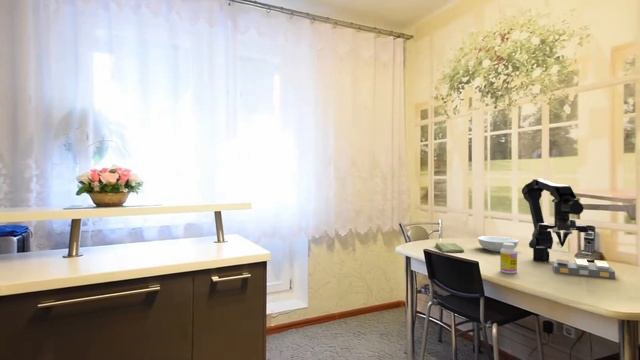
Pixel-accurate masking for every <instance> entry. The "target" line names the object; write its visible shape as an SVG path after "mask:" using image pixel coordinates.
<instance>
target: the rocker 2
mask: <svg viewBox="0 0 640 360" xmlns="http://www.w3.org/2000/svg"><path fill="white" fill-rule="evenodd" d="M574 263H576V265H577V266H578V267H589V265H588V264H589V262H588V261H587V259H584V258H575V259H574Z"/></svg>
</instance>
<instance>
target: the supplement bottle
mask: <svg viewBox="0 0 640 360" xmlns="http://www.w3.org/2000/svg"><path fill="white" fill-rule="evenodd" d="M499 255H500V257H499V258H500V262H499V263H500V267H499V268H500V272H502V273H505V274H510V275H511V274H512V275H513V274H516V273H518V251H517V250H516V248H515V249H514V244H513V243H503V249H501V251H500V252H499Z"/></svg>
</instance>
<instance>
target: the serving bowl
mask: <svg viewBox="0 0 640 360" xmlns="http://www.w3.org/2000/svg"><path fill="white" fill-rule="evenodd" d="M477 240H478V244H479V245H480V246H481V248H483V249H485V250H488V251H490V252H494V253H495V252H496V253H500V251H501V249H503V243H513V244H514V249H515V250H516V248H517V247H518V244H519V240H518V239H517V238H512V237H507V236H498V235H485V236H484V235H483V236H482V235H481V236H478V237H477Z"/></svg>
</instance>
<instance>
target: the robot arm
mask: <svg viewBox="0 0 640 360" xmlns="http://www.w3.org/2000/svg"><path fill="white" fill-rule="evenodd" d="M544 191H546V192H548V193H549V195H550V196H552V198H553V199H552V200H551V203H553V210H554V211H553V213H554V215H553V216H554V218H553V219H554V221H553V223H554V225H552V224H549V223H546V222H545V219H544V216H543V211H542V207H541V206H542V205H541V203H540V200H541V198H542V193H543V192H544ZM521 193H522V195H523V198H524V200H525V201H526V202H527V204H528V205H529V212H530V214H531V219H532V224H533V229H534V230H533V232H532V234H531V236H532V238H531V240H530V241H529V242H528V246H529V249H532V261H534V262H542V263H549V261H550V251H549V250H552V248H553V244H554V238H553V235H552V233H553V234H555V235H556V237H557V239H558V242H559V245H560V247H561V248H562V247H565V243H566V240H567V238H568V237H569V236H570V235H571V234H572V235H573V231H577V232H579V233H584V234H587V233H589V227H588V226H587V225H585V224H577V222H576V219H570V215H573V216H575V215H576V216H579V215H581V214H582V213H583V212H584V209H585V208H584V206H583V204H582V203H581V202H580V201H579V199H578V198H577V195H576V194H575V192H574V190H573V188H572V186H570V185H569V184H568V185H567V184H557V183H554V182H551V181H549V180H546V179H545V178H534V179H532V180H531V181H530V182H528V183H526V184H524V186H523V187H522V188H521ZM561 231H562V233H561Z"/></svg>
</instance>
